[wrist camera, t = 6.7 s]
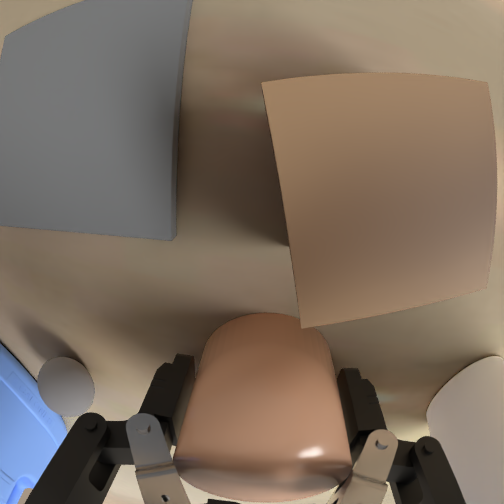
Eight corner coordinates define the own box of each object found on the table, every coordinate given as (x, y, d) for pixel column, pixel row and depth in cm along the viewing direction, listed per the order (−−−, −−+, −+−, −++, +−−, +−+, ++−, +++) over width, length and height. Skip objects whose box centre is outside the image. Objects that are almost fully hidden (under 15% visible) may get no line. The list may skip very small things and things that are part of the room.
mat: (12, 37, 7) (5, 36, 7) (195, -16, 7) (191, -23, 6) (7, 222, 11) (-1, 225, 11) (176, 235, 11) (171, 240, 10)
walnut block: (265, 109, 9) (260, 82, 4) (401, 98, 8) (487, 82, 4) (289, 246, 11) (301, 328, 6) (412, 227, 10) (486, 288, 6)
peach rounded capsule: (202, 305, 12) (159, 422, 6) (344, 317, 12) (380, 434, 6) (204, 396, 14) (182, 492, 9) (315, 405, 14) (324, 501, 9)
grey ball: (49, 338, 14) (17, 375, 11) (95, 352, 14) (65, 397, 10) (65, 379, 15) (41, 416, 12) (109, 394, 15) (88, 436, 12)
